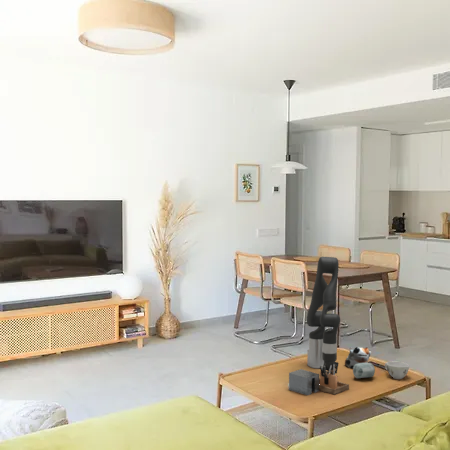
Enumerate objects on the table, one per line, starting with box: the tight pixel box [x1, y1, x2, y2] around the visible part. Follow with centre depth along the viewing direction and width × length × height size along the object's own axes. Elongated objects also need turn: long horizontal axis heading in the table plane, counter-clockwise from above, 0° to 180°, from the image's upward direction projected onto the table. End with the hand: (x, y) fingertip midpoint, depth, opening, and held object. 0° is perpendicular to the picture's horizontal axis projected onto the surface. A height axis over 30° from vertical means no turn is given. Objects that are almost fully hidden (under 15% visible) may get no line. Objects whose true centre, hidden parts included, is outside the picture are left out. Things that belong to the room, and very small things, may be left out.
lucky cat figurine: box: [344, 346, 372, 369], centre depth 327 cm, size 15×12×14 cm
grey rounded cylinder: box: [352, 362, 376, 379], centre depth 306 cm, size 14×10×10 cm
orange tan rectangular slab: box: [319, 371, 338, 389], centre depth 289 cm, size 10×2×7 cm, turn 44°
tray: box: [318, 378, 350, 396], centre depth 289 cm, size 16×13×3 cm
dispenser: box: [288, 368, 320, 396], centre depth 285 cm, size 12×10×9 cm
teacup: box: [384, 360, 410, 380], centre depth 309 cm, size 15×12×8 cm
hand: (329, 383), depth 289 cm, fingers open, 4 cm apart
